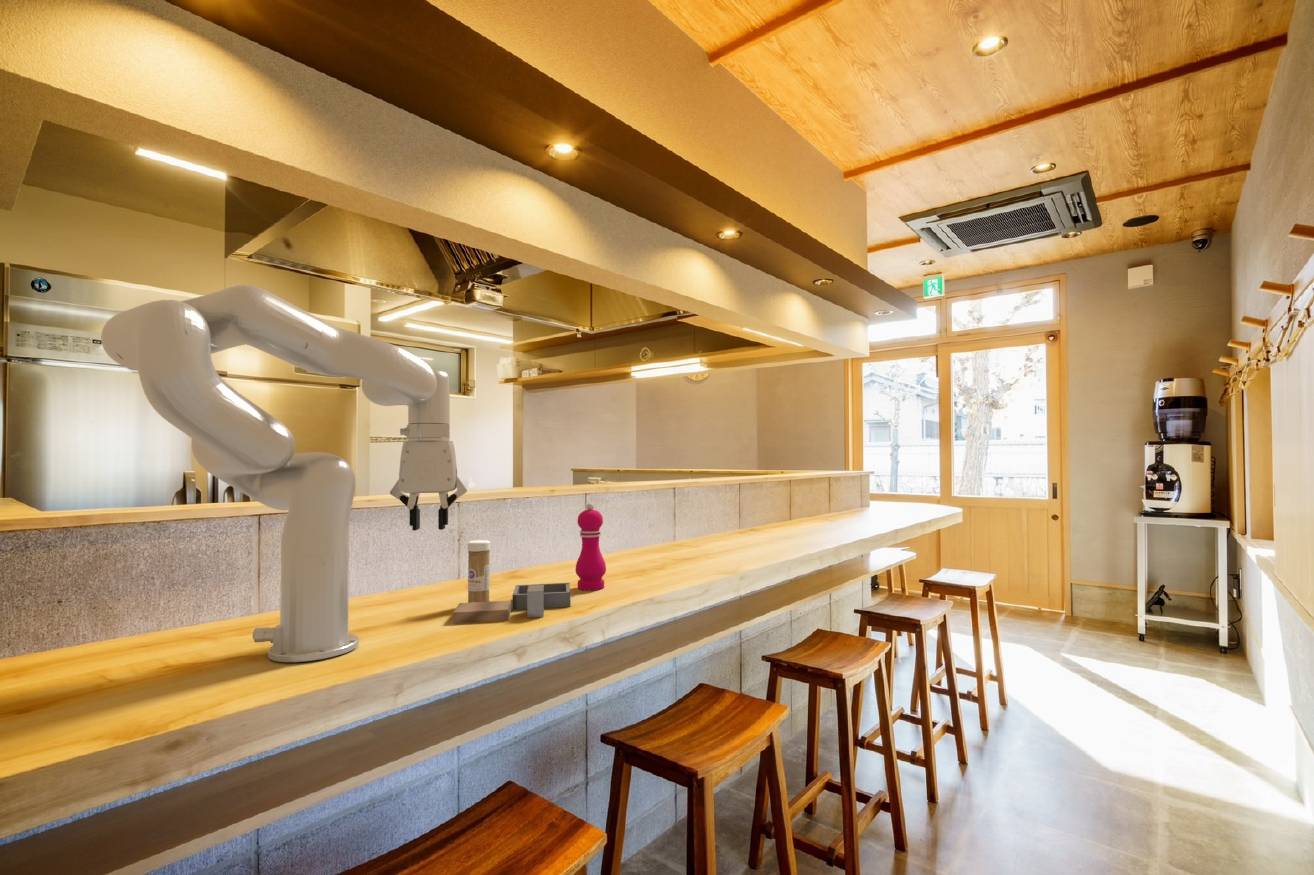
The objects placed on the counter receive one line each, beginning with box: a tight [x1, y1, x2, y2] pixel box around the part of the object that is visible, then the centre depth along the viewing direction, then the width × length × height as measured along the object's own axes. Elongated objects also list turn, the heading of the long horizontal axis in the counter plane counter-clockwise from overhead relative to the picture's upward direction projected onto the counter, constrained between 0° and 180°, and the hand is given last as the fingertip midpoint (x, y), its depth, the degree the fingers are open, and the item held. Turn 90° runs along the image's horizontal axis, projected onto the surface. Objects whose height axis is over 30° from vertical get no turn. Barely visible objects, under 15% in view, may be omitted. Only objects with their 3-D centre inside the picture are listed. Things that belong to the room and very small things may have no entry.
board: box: [452, 600, 512, 625], centre depth 118 cm, size 10×8×2 cm
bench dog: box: [526, 584, 545, 619], centre depth 120 cm, size 3×6×5 cm, turn 9°
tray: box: [512, 582, 571, 611], centre depth 129 cm, size 12×11×3 cm
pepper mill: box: [574, 502, 607, 592], centre depth 144 cm, size 7×7×20 cm
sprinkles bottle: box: [467, 539, 491, 603], centre depth 128 cm, size 5×5×14 cm
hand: (429, 528), depth 117 cm, fingers open, 4 cm apart
